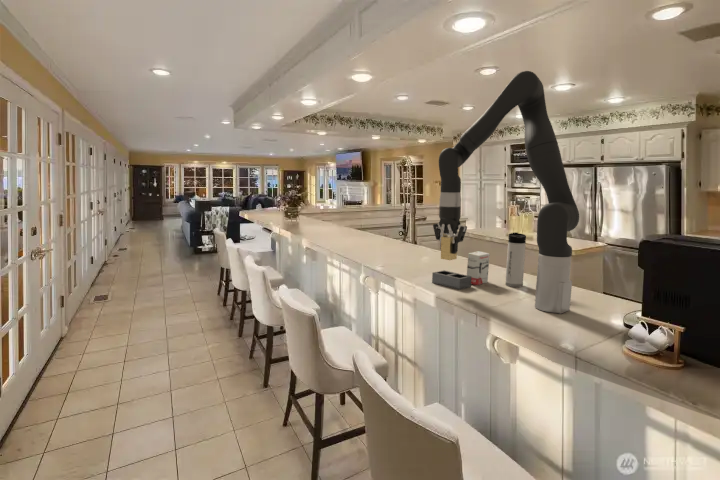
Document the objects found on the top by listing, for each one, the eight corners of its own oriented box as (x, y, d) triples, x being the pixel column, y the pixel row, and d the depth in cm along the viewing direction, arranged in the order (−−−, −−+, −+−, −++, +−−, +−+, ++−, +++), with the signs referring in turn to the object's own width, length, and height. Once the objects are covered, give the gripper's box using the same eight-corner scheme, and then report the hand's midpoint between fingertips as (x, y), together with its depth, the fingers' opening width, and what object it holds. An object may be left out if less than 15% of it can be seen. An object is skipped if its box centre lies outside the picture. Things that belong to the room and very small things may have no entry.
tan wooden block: (456, 259, 149) (457, 237, 148) (449, 260, 146) (450, 238, 145) (447, 257, 152) (448, 236, 151) (440, 258, 149) (441, 236, 148)
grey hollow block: (470, 286, 155) (471, 276, 154) (459, 289, 150) (459, 279, 150) (443, 280, 165) (444, 270, 164) (432, 282, 160) (432, 272, 160)
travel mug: (519, 283, 161) (523, 232, 158) (524, 287, 154) (528, 234, 152) (503, 282, 162) (506, 232, 159) (507, 287, 155) (511, 234, 152)
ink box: (477, 285, 157) (478, 255, 155) (465, 283, 160) (467, 253, 158) (488, 282, 163) (490, 252, 161) (477, 279, 166) (478, 250, 164)
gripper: (473, 205, 144) (471, 254, 146) (441, 204, 155) (439, 249, 157) (460, 206, 139) (458, 256, 141) (427, 204, 150) (426, 251, 152)
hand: (448, 252), depth 149 cm, fingers closed on tan wooden block, 4 cm apart
